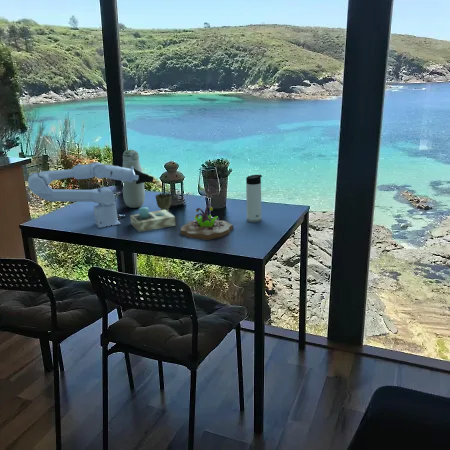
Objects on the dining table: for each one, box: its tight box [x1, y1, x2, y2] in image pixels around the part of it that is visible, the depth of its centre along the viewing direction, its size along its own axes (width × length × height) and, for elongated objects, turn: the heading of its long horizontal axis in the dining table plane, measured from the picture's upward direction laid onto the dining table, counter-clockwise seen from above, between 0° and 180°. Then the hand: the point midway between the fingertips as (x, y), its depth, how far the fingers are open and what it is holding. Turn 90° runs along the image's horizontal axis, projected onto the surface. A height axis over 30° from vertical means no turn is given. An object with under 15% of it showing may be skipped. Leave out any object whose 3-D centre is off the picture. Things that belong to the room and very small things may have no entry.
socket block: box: [129, 209, 176, 232], centre depth 208 cm, size 16×12×4 cm
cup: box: [154, 192, 173, 212], centre depth 225 cm, size 8×7×8 cm
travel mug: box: [245, 174, 263, 223], centre depth 206 cm, size 6×7×20 cm
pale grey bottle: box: [122, 149, 146, 209], centre depth 230 cm, size 10×10×28 cm
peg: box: [138, 206, 150, 218], centre depth 205 cm, size 4×4×4 cm
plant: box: [180, 205, 234, 241], centre depth 197 cm, size 20×20×11 cm
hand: (150, 178), depth 213 cm, fingers open, 7 cm apart
